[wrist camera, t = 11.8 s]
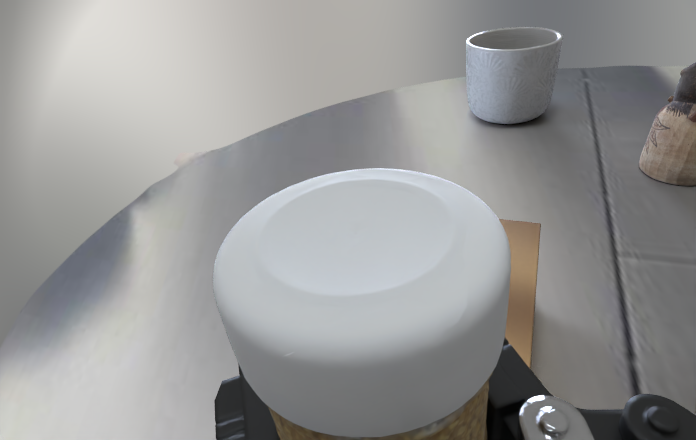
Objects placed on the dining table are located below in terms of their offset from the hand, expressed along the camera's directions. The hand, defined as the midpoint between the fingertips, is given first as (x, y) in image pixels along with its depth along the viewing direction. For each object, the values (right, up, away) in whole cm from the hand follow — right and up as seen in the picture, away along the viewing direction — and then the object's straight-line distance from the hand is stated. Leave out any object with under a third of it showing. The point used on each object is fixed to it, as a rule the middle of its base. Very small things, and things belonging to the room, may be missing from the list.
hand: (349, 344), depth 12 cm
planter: (+24, +19, +55) cm, 63 cm away
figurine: (+36, +9, +37) cm, 52 cm away
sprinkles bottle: (+2, -8, +2) cm, 8 cm away
